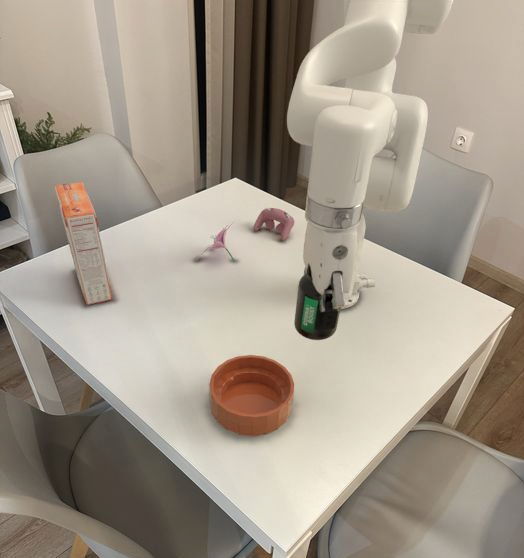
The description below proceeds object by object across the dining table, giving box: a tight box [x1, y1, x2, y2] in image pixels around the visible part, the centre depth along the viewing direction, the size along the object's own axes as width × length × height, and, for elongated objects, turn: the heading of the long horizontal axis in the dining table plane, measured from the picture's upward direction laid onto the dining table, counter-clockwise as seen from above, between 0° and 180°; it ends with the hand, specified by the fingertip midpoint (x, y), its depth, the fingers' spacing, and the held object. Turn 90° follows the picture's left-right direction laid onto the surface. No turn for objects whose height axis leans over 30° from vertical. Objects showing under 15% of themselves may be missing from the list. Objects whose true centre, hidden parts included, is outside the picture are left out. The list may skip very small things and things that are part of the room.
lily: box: [196, 223, 236, 262], centre depth 122 cm, size 12×12×10 cm
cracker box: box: [54, 181, 114, 306], centre depth 107 cm, size 14×6×21 cm, turn 24°
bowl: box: [208, 354, 295, 437], centre depth 88 cm, size 14×14×6 cm
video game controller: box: [253, 207, 295, 242], centre depth 133 cm, size 10×5×7 cm, turn 58°
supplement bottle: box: [293, 264, 344, 341], centre depth 79 cm, size 7×7×12 cm
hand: (317, 312), depth 81 cm, fingers closed on supplement bottle, 6 cm apart
